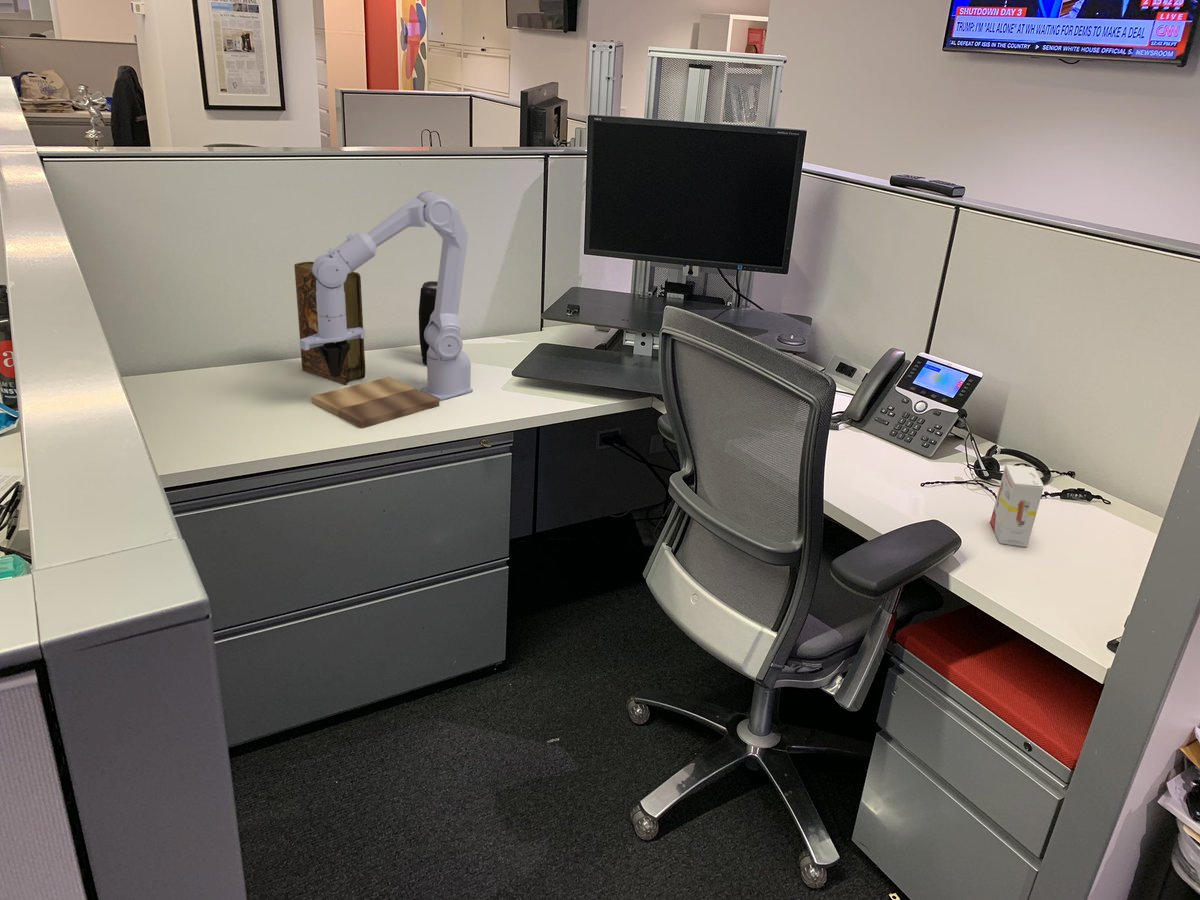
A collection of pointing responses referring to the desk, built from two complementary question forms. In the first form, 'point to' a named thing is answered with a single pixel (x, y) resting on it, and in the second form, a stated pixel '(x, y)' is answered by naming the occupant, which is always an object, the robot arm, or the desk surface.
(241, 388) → the desk surface
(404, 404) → the walnut strip
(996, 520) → the ink box
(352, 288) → the book
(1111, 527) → the desk surface
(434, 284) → the portable speaker
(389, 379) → the oak plank
